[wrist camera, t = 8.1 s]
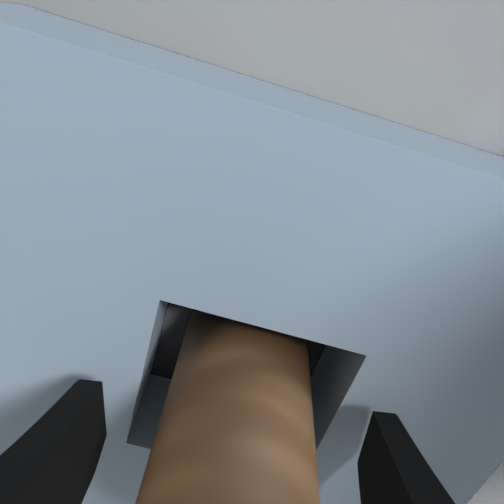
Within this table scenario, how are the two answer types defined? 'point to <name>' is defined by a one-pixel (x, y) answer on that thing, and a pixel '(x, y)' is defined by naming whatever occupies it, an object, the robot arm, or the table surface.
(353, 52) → the table surface
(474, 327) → the socket block
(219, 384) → the walnut peg
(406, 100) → the table surface
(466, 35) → the table surface
